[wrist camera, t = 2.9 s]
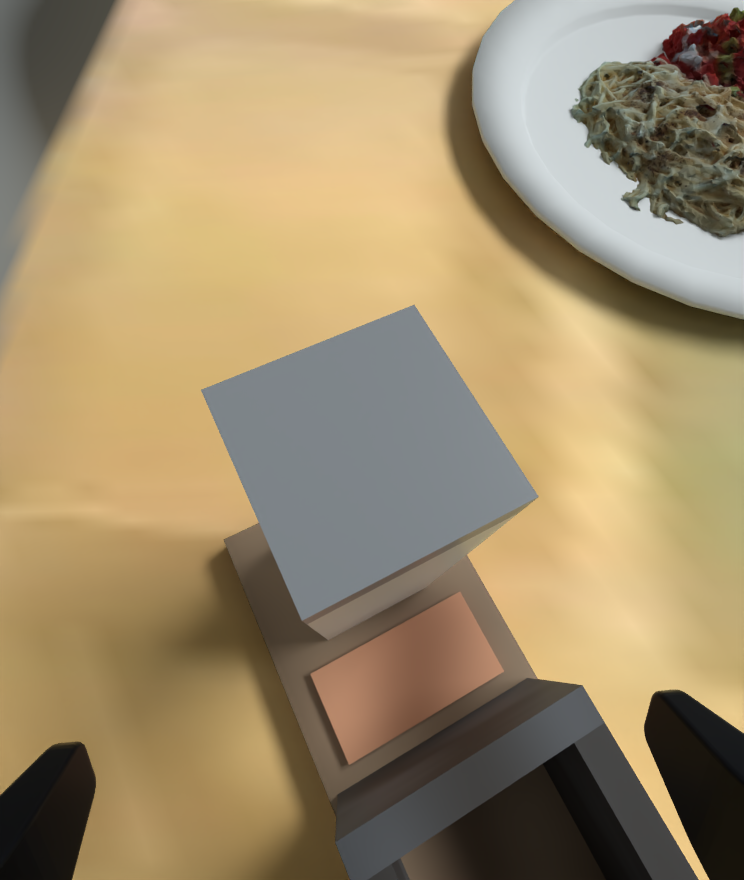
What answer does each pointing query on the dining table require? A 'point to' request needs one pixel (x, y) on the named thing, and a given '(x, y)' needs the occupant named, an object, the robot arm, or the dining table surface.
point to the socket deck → (454, 742)
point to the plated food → (626, 134)
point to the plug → (366, 467)
